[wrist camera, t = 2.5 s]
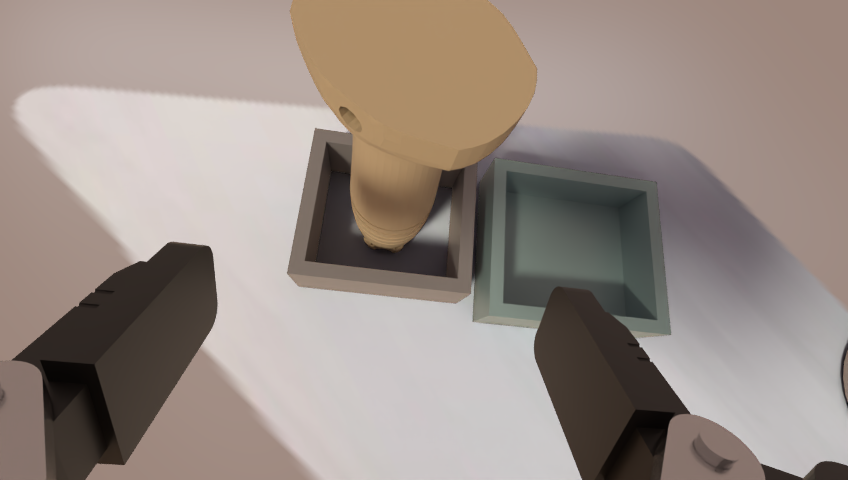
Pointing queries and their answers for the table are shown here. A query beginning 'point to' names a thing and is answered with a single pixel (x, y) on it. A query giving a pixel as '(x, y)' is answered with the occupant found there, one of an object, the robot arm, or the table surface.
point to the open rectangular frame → (304, 270)
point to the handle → (413, 96)
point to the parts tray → (568, 245)
